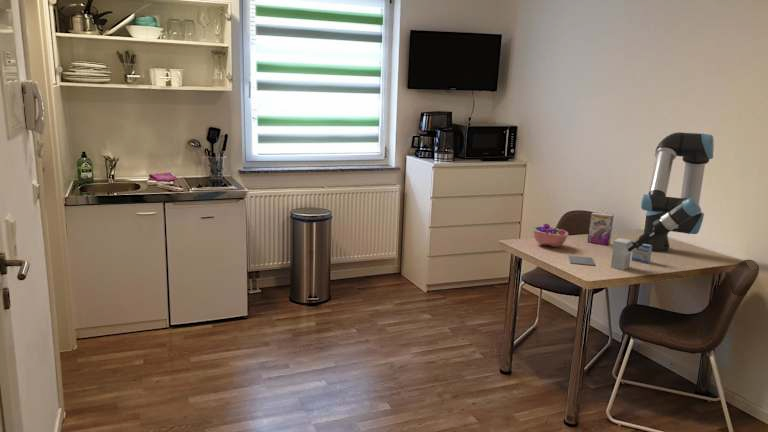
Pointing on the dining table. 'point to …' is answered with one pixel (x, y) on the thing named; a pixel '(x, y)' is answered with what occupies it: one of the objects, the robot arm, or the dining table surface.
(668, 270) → the dining table surface
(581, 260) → the slate coaster
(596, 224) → the candy bar box
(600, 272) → the dining table surface
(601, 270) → the dining table surface
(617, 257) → the small box
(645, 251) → the medicine box
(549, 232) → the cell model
